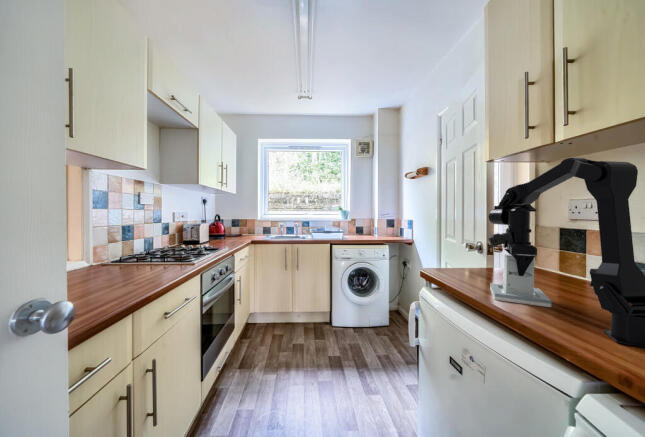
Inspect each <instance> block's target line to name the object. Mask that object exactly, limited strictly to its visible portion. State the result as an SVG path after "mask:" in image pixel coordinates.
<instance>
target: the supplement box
mask: <svg viewBox="0 0 645 437" xmlns="http://www.w3.org/2000/svg"><path fill="white" fill-rule="evenodd" d="M535 260H536V259H535V258H534V259H533V261H532V262H531V264H530V265H529V267H528V268H527V270H526V272H525V273H524V275H523V276H519V275H518V270H517V265H516V259H515V258H514V257H513V256H512V255H511V254H509V253H504V254H503V270H502V272H503V273H502V274H503V276H502V285H503V290H504V292H505V293H508V294H516V295H524V296H532V297H533V296H534V288H535V282H534V281H535V280H534V279H535Z"/></svg>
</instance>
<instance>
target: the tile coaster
mask: <svg viewBox="0 0 645 437" xmlns="http://www.w3.org/2000/svg"><path fill="white" fill-rule="evenodd" d="M489 284H490V285H489V286H490V287H489V289H490V292H491V295H492V297H493V299H494V301H502V302H509V303H514V304H515V303H518V304H522V305H523V304H525V305H531V306H537V307H538V306H539V307H544V308H545V307H546V308H552V299H550V298H549V296H547V295H546V294H545V293H544V292H543V291H542V290H541V289H540V288H538V287H537V288H535V287H534V296H533V297H532V296H524V295H516V294H508V293H505V292H504V290H503V283H502V284H500V283H493V282H491V283H489Z"/></svg>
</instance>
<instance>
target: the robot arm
mask: <svg viewBox="0 0 645 437" xmlns="http://www.w3.org/2000/svg"><path fill="white" fill-rule="evenodd" d="M638 173H639V170H638V168H637V166H636V165H635V164H633V163H631V162H629V161H616V160H615V161H611V160H610V161H609V160H606V161H605V160H600V161H599V160H594V159H593V160H592V159H587V158H585V157H568V158H565V159H563V160H561V162H560V163H558V164H557V165H555V166H553V167H552V168H550V169H548V170H546V171H545V172H543V173H541V174H540V175H538V176H537V177H535V178H533V179H532V180H530V181H527V182H525V183H519V184H516V185H514V186H512V187H508V188H507V189H506V190H505V193H504V195H503V197H502V198H501V200H500V201H499V203H498V205H494V206H493V209H492V210H491V211H490V212H489V214H488V221H490V223H491V224H492V225H501V226H504V225H505V226H507V228H506V229H505V232H503V233H499V232H497V233H493V234H492V235H491V236H488V237H487V239H488V242H489V245H490V246H491V248H495V247H498V246H500V245H503V246H502V247H503V250H504V251H506V253H507V254H511V255H512V256H513V257H514V258H515V259H516V265H517V270H518V275H519V276H523V275H524V273H525V272H526V270H527V268H528V267H529V265H530V264H531V262H532V261H533V259H535V258H536V256H538V248H537V247H536V246H535V245H533V244H532V242H531V241H530V240H531V234H532V229H531V212H532V213H535V212H537V208H536V207H533V206H532V204H533V203H534V202H536V201H537V200H539V198H540V196H541V194H543V193H545V192H547V191H549V190H550V189H553V188H554V187H556V186H559V185H560V184H562V183H564V182H567V180H570V179H571V178H577V179H582V180H584V183H585V188H586V190H587V191H588V192H589V194H590V195H591V196H592V197H593V198H594V199H595V201H596V202H595V203H596V208H597V209H596V210H597V219H598V220H597V221H598V233H599V242H600V253H601V262H600V264H599V266H598V267H597V268H590V269H589V275H590V276H589V277H590V280H591V281H590V284H589V287H592V288H593V292H594V294H595V295H596V296H597V299H598V301H599V305H600V307H601V309H602V310H604V311H607V312H609V314H611V321H610V323H611V324H610V329H606V328H605V329H603V332H604V333H605V335H607V336H608V337H609V338H611V339H612V340H613V341H614V342H616V343H618V344H623V345H629V346H634V347H640V348H645V274H644V272H643V271H642V270H641V269H640V268H639V266H638V265H637V264H636V262H635V254H634V253H635V252H634V244H633V242H634V240H633V233H632V222H631V214H630V212H631V211H630V205H629V204H630V203H629V202H630V201H629V198H630V197H631V195H632V194H633V192H634V191H635V189H636V187H637V184H638V175H639V174H638Z"/></svg>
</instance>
